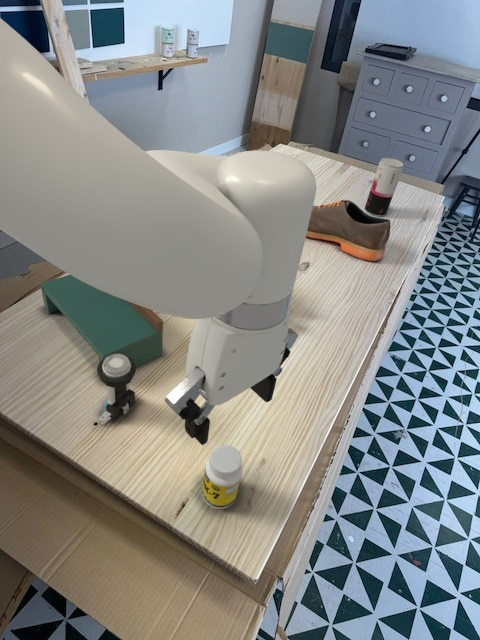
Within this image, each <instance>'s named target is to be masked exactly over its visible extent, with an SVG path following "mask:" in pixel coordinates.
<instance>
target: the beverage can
mask: <svg viewBox="0 0 480 640" xmlns="http://www.w3.org/2000/svg"><path fill="white" fill-rule="evenodd" d="M403 170H404V163H403V162H402V161H401V160H398V159H396V158H392V157H383V158H381V159H380V161H379V163H378V166H377V169H376V171H375V175H374V178H373V181H372V184H371V186H370V189H369V193H368V196H367V199H366V202H365V206H364V210H365V213H367V214H368V215H370V216H373V217H384V216H386V215H387V214H388V210H389V208H390V205H391V204H392V203H391V202H392V200H393V197H394V194H395V191H396V189H397V187H398V183H399V181H400V178H401V175H402V172H403Z"/></svg>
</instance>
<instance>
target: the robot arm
mask: <svg viewBox="0 0 480 640" xmlns="http://www.w3.org/2000/svg"><path fill="white" fill-rule="evenodd" d="M316 194H317V181H316V177H315V175H314V173H313V171H312V169H311V168H310V167H309V166H308V165H307V164H306V163H304V162H303V161H301V160H300V159H298V158H295V157H294V156H291V155H288V154H285V153H281V152H277V151H271V150H261V149H259V150H257V149H255V150H246V151H245V150H244V151H240V152H238V153H235V154H233V155H219V154H218V155H217V154H207V153H196V152H187V151H180V150H171V149H153V150H144V149H142V148H141V147H139V146H138V145H137V144H136V143H135V142H133V141H132V140H131V139H130V138H129V137H127V136H126V135H125V134H124V133H123V132H122V131H120V130H119V129H118V128H117V127H116V126H115V125H113V123H111V122H110V121H109V120H108V119H106V118H105V117H104V116H103V115H102V114H101V113H100V112H99V111H98V110H97V109H96V108H95V107H93V106H92V105H91V104H90V103H89V102H88V101H87V100H86V99H85V98H84V97H83V96H82V95H81V94H80V93H79V92H78V91H77V90H76V88H74V87H73V86H72V84H70V83H69V82H68V81H67V80H66V79H65V78H64V76H63V75H62V74H61V73H60V72H59V71H58V70H57V69H56V68H55V67H54V65H52V63H51V62H49V60H48V59H47V58H46V57H45V56H44V55H42V54H41V52H40V51H38V50H37V49H36V47H34V46H33V45H32V44H31V43H30V42H29V41H28V40H27V39H26V38H24V37H23V36H22V35H21V34H20V33H19V32H17V30H15V29H14V28H13V27H11V26H10V25H9V24H8V23H7V22H6V21H4V20H3V19H2V18H1V17H0V231H2V232H4V233H5V234H6V235H8V236H10V237H11V238H13V239H14V240H16V241H17V242H19V243H20V244H21V245H23V246H25V247H26V248H27V249H29V250H30V251H32V252H33V253H35V254H37V255H38V256H40V257H41V258H42V259H44V260H46V261H47V262H49V263H50V264H52V265H53V266H55V267H56V268H58V269H60V271H63V272H65V273H66V274H67V275H72V276H74V277H75V278H77V279H79V280H81V281H82V282H84V283H86V284H88V285H90V286H92V287H94V288H96V289H99V290H101V291H103V292H106V293H108V294H110V295H112V296H115V297H118V298H121V299H124V300H126V301H129V302H131V303H134V304H137V305H140V306H142V307H145V308H148V309H151V310H152V311H153V312H157V313H158V314H159V313H160V314H163V315H167V316H170V317H174V318H180V319H188V320H194V324H193V327H192V330H191V335H190V339H189V343H188V348H187V355H186V361H185V371H184V373H185V374H184V379H183V380H182V381H181V382H179V384H178V385H176V387H175V388H173V390H171V391H170V392H169V393H168V394H167V395H166V396H165V398H164V402H165V403H166V404H167V405H168V407H169V408H170V409H171V410H172V411H173V412H174V413H175V414H176V415H177V416H179V418H180V419H181V420H184V430H185V432H186V434H187V435H188V436H189V437H190V438H191V439H195V440H196V441H197V442H198V443H199V444H200V445H201V446H204V445H206V444H207V443H208V441H209V436H210V435H209V433H210V425H211V420H210V418H209V415H211V412H212V411H213V410H214V408H215V407H216V406H221V405H224V404H225V403H227V402H229V401H231V400H232V399H234V398H235V397H237V396H239V395H241V394H242V393H244V392H245V391H247V390H248V389H251V390H252V392H254V393H255V394H256V395H257V396H258V397H259V398H260V399H261V400H262V401H264V402H265V403H270V402H271V401H272V400H273V396H274V392H275V389H276V384H277V380H278V378H276V377H278V376H280V375H281V374H282V372H283V367H282V365H283V364H284V363H285V361H286V360H287V359H288V358H289V357H290V355H291V349H292V348H293V346H294V344H295V342H296V341H297V339H298V337H299V334H298V333H297V332H296V331H295V330H294V329H292V328H291V327H290V315H291V310H290V309H291V308H290V306H291V301H292V297H293V292H294V287H295V284H296V280H297V276H298V271H299V268H300V267H299V266H300V262H301V259H302V255H303V251H304V246H305V242H306V238H307V236H306V234H307V230H308V225H309V221H310V217H311V213H312V208H313V206H314V205H315V204H314V203H315V200H316ZM200 396H201V397H202V398H203V399H204V400H205V401H204V403H203V405H202V406H201V407H200V406H199V404H197V403H196V401H197V399H198V398H199V397H200Z"/></svg>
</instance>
